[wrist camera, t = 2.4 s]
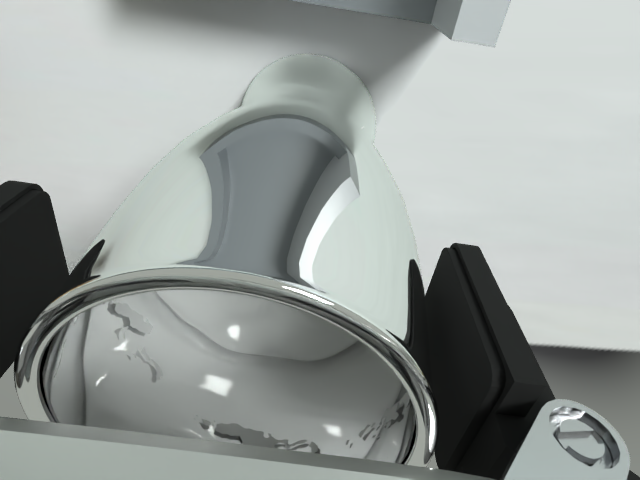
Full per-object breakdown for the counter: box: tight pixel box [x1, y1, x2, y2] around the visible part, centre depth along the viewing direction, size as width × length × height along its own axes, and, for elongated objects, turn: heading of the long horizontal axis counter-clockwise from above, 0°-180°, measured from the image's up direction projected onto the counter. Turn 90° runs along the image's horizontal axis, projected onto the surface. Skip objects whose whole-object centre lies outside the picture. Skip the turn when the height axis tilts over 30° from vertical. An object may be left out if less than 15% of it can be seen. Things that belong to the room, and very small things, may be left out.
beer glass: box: [14, 54, 440, 467], centre depth 13 cm, size 7×7×15 cm
